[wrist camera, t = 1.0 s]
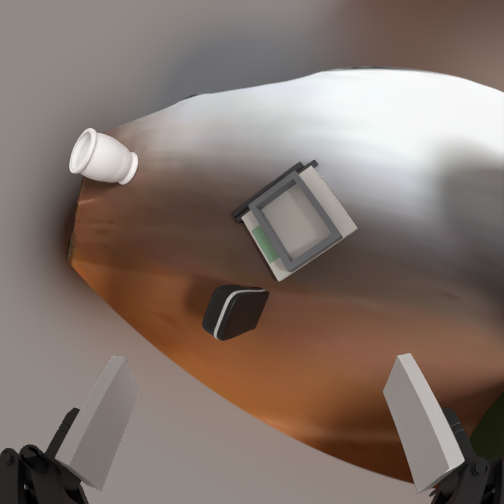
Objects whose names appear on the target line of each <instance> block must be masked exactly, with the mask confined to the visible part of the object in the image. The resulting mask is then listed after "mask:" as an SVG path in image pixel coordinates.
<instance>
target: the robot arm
mask: <svg viewBox="0 0 504 504" xmlns="http://www.w3.org/2000/svg"><path fill="white" fill-rule="evenodd" d="M140 394H141V392H140V389H139V387H138V385H137V383H136V380H135V378H134V376H133V374H132V371H131V369H130V366H129V364H128V362H127V359H126V357H122V356H116V355H113V356H112V358H111V359H110V361H109V362H108V364H107V366H106V367H105V369H104V371H103V372H102V374H101V376H100V377H99V379H98V380H97V382H96V384H95V385H94V387H93V389H92V390H91V392H90V394H89V395H88V397H87V399H86V401H85V402H84V404H83V406H82V408H81V409H77V408H73V409H72V410H71V411H70V412H68V413H67V415H66V416H65V418H64V420H63V421H62V424H61V425H60V427H59V430H57V432H56V434H55V436H54V438H53V439H52V441H51V443H50V445H49V447H48V449H47V451H46V452H45V453H43V452H42V451H41V450H40V449H39V448H37V446H34V445H26V446H24V447H23V448H22V449H21V450H20V453H19V454H18V453H17V452H16V451H15V450H14V449H11V448H6V449H5V450H3V451H2V453H1V455H0V504H89V503H88V501H87V498H86V496H85V493H84V491H83V488H82V486H81V485H80V482H81V481H83V482H84V483H85V484H87V485H88V486H90V487H93V488H95V489H97V490H100V491H102V488H103V485H104V482H105V479H106V477H107V474H108V472H109V469H110V467H111V464H112V461H113V458H114V456H115V454H116V451H117V449H118V446H119V443H120V441H121V438H122V436H123V434H124V431H125V429H126V427H127V424H128V422H129V419H130V417H131V415H132V412H133V410H134V408H135V405H136V403H137V401H138V398H139V396H140ZM383 394H384V396H385V399H386V401H387V404H388V407H389V409H390V412H391V415H392V417H393V420H394V423H395V425H396V428H397V431H398V434H399V437H400V440H401V443H402V445H403V448H404V451H405V454H406V458H407V461H408V464H409V467H410V470H411V473H412V477H413V480H414V484H415V487H416V490H417V493H420V492H423V491H425V490H428V489H430V488H432V487H434V486H435V485H436V484H438V483H439V487H438V488H437V489H435V490H434V491H433V492H432V493H431V494H430V495H429V496H430V497H431V496H432V495H434V494H435V493H436V494H435V496H434V498H433V501H432V503H431V504H504V455H503V456H502V457H499V458H495V459H490V460H486V459H485V458H483V457H478V456H477V455H476V453H475V451H474V449H473V447H472V445H471V443H470V440H469V438H468V436H467V434H466V432H465V430H463V429H464V428H463V426H462V424H460V420H459V418H458V416H457V414H456V413H455V412H454V411H453V410H452V409H451V408H449V407H446V408H444V409H441V408H440V406H439V404H438V402H437V400H436V398H435V396H434V394H433V393H432V391H431V389H430V387H429V385H428V383H427V381H426V380H425V378H424V376H423V374H422V372H421V371H420V369H419V367H418V365H417V364H416V362H415V360H414V358H413V357H412V355H411V353H408V354H403V355H397V358H396V361H395V363H394V366H393V368H392V371H391V373H390V376H389V378H388V381H387V383H386V385H385V388H384V390H383ZM24 484H25V485H26V487H25V489H24ZM494 489H495V490H494Z"/></svg>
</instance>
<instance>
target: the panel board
mask: <svg viewBox="0 0 504 504" xmlns="http://www.w3.org/2000/svg"><path fill="white" fill-rule="evenodd" d="M248 206H249V208H250V211H249V212H248V213H246V214H245V215H244V216H242V217H241V218H242V220H243V221H244V223H245V225H246V227H247V228H248V230H249V232H250V233H251V235H252V237H253V239H254V240H255V242H256V244H257V245H258V247H259V249H260V251H261V252H262V254H263V256H264V257H265V259H266V261H267V263H268V264H269V266H270V268H271V269H272V271H273V273H274V275H275V276H276V278H277V280H278V281H282V280H283V279H285V278H286V277H288V276H289V275H291V274H292V273H294V272H295V271H297V270H298V269H300V268H301V267H303V266H304V265H306V264H307V263H309V262H310V261H312V260H313V259H315V258H316V257H318V256H319V255H321V254H322V253H324V252H325V251H327V250H328V249H330V248H331V247H333V246H334V245H336V244H337V243H338V242H340V241H341V240H343V239H344V238H346V237H347V236H349V235H350V234H351V233H353V232H354V231H356V230H357V229H358V228H357V226H356V225H355V224H354V222H353V221H352V219H351V218H350V216H349V215H348V214H347V212H346V211H345V209H344V208H343V207H342V205H341V204H340V202H339V201H338V200H337V198H336V197H335V196H334V194H333V193H332V192H331V190H330V189H329V188H328V186H327V185H326V184H325V182H324V181H323V180H322V178H321V177H320V176H319V175H318V173H317V172H316V171H315V169H314V168H313V167H312V166H310V167H308V168H307V169H306V170H304V171H303V172H302V173H300V174H299V175H298V173H297V172H296V171H295V170H294V171H293V172H292V173H290V174H289V175H287V176H286V177H285V178H283V179H282V180H281V181H279V182H278V183H277V184H275V185H274V186H273V187H271V188H270V189H269V190H267V191H266V192H265V193H263V194H262V195H261V196H259V197H258V198H257V199H255V200H254V201H253V202H251V203H250V204H249V205H248Z"/></svg>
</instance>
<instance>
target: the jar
mask: <svg viewBox="0 0 504 504" xmlns="http://www.w3.org/2000/svg"><path fill="white" fill-rule="evenodd" d="M137 167H138V157H137V155H136V154H135V153H133V152H129V150H128V149H127V148H126V147H125V146H124V145H122V144H121V143H119V142H118V141H117V140H115V139H114V138H112V137H110V136H107V135H105V134H101V133H96V131H95V130H94V129H92V128H89V129H87V130H86V131H84V132H83V133H82V135H81V136H80V137H79V139H78V140H77V142H76V144H75V146H74V149H73V151H72V154H71V158H70V171H71V172H72V173H76V174H77V173H81V174H82V175H84V176H86V177H88V178H90V179H93V180H97V181H105V182H118V183H119V184H121V185H124V184H126V183H128V182H129V181H130V180H131V179H132V178H133V176H134V174H135V172H136V170H137Z"/></svg>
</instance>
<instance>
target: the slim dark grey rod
mask: <svg viewBox="0 0 504 504" xmlns="http://www.w3.org/2000/svg"><path fill="white" fill-rule="evenodd" d="M317 165H318V163H317V162H316V161H315V160H313V161H312V162H310V163H309V164H308V165H306V166H305V167H304V166H303V164H302V163H301V162H299V163H297V164H296V165H295V166H293V167H292V168H291V169H289V170H288V171H286V172H285V173H284V174H282V175H281V176H280V177H278V178H277V179H276V180H274V181H273V182H272V183H270V184H269V185H268V186H266V187H265V188H264V189H262V190H261V191H260V192H258V193H257V194H256V195H255V196H253V197H252V198H251V199H249V200H248V201H247V202H245V203H244V204H243V205H242V206H240V207H239V208H238V209H236V210H235V211H234V212H233V213H232V214H233V216H234V217H237V216H238V215H239V216H238V217H237V218H235V219H236V221H237V222H238V223H240V222H241V221H243V220H242V218H241V217H242V216H244V215H245V214H246V213H248V212H249V211H250V208H249V206H248V205H249V204H250V203H251V202H253V201H254V200H255V199H257V198H258V197H259V196H261V195H262V194H263V193H265V192H266V191H267V190H269V189H270V188H271V187H273V186H274V185H275V184H277V183H278V182H279V181H281V180H282V179H283V178H285V177H286V176H287V175H289V174H290V173H292V172H293V171H294V170H295V171H296V172H297V171H298V170H299V171H298V172H297V173H298V175H299V174H300V173H302V172H303V171H304V170H306V169H307V168H308V167H310V166H312V167H313V168H314V167H316V166H317ZM301 168H302V169H301ZM300 169H301V170H300ZM246 209H247V210H246ZM245 210H246V211H245ZM242 212H243V213H242ZM241 213H242V214H241Z"/></svg>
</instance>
